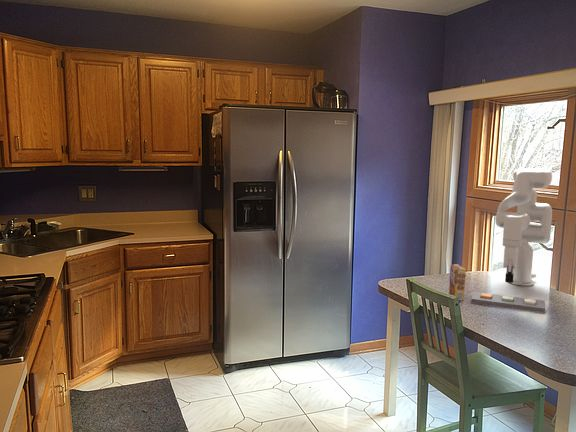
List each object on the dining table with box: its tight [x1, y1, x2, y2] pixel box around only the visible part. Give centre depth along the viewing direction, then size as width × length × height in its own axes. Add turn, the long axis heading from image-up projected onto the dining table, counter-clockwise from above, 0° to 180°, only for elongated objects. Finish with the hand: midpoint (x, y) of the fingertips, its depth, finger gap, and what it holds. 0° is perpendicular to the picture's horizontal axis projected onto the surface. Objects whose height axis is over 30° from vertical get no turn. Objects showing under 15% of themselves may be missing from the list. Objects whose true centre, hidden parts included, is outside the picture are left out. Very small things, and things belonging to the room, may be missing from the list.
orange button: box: [481, 292, 493, 299], centre depth 221 cm, size 4×4×2 cm
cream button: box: [523, 297, 536, 305], centre depth 213 cm, size 4×4×2 cm
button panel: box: [470, 291, 546, 314], centre depth 217 cm, size 12×30×2 cm, turn 64°
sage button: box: [502, 295, 514, 302], centre depth 217 cm, size 4×4×2 cm
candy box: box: [448, 263, 467, 302], centre depth 224 cm, size 9×4×15 cm, turn 2°
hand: (509, 281), depth 217 cm, fingers closed
